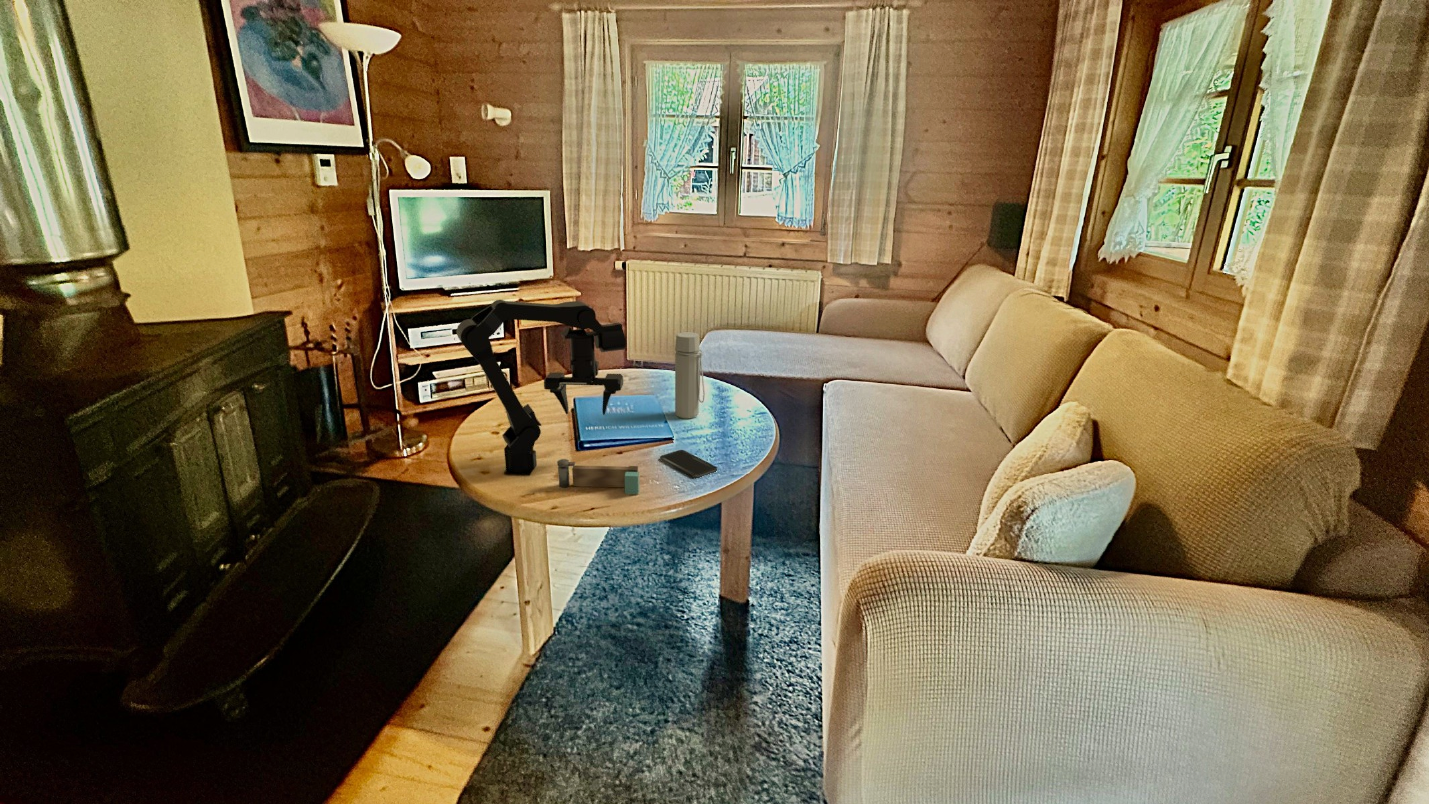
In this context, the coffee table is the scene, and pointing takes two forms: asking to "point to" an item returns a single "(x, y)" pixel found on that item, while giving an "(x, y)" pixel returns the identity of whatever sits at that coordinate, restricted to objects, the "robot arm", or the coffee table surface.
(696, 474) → the phone
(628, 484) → the block
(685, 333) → the water bottle
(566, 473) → the hinge post
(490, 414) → the coffee table surface
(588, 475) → the gate
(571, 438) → the coffee table surface
